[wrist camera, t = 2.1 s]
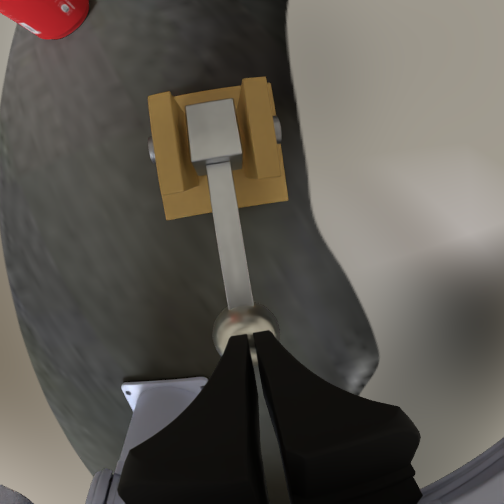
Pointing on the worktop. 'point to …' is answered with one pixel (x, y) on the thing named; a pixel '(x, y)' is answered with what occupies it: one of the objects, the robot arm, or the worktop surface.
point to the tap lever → (226, 218)
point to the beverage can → (47, 15)
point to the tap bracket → (252, 138)
